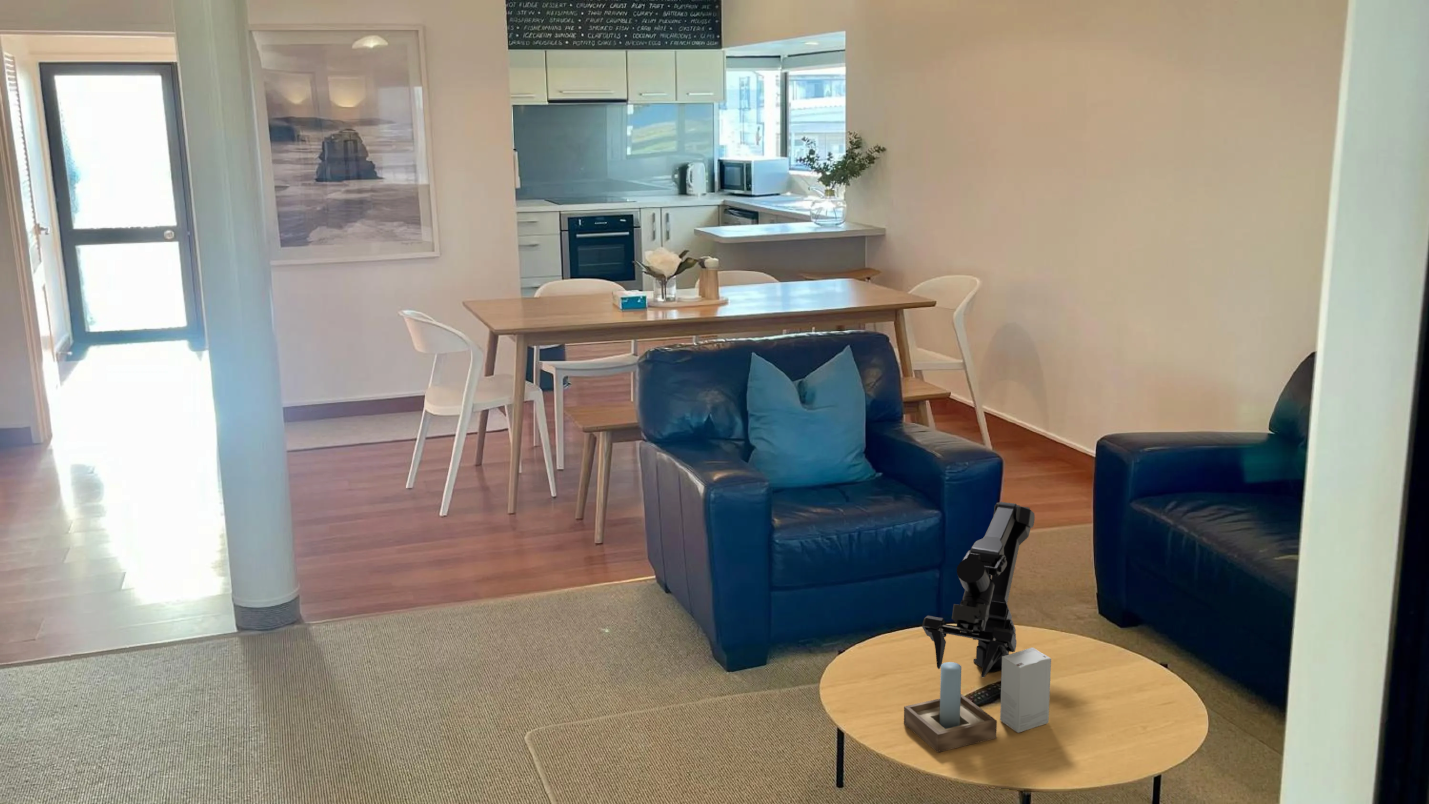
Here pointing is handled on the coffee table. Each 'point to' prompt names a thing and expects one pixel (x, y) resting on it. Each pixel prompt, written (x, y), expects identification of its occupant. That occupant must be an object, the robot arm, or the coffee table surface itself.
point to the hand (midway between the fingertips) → (960, 672)
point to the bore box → (970, 731)
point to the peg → (950, 695)
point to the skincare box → (1025, 689)
